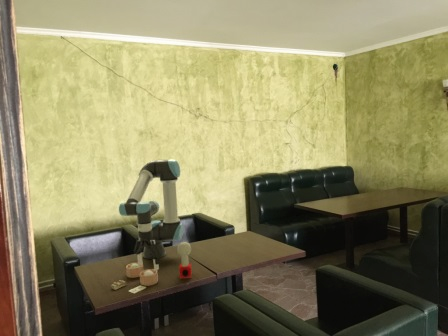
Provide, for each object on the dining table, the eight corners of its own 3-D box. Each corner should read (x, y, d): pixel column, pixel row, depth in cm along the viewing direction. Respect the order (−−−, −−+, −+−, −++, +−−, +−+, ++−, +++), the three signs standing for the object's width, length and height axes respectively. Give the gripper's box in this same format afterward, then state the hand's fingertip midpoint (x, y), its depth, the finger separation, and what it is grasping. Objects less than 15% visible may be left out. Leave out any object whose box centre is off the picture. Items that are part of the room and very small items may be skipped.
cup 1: (123, 275, 217) (123, 266, 217) (136, 270, 224) (135, 261, 224) (134, 279, 211) (133, 269, 211) (146, 273, 219) (146, 264, 218)
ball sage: (127, 274, 217) (127, 264, 217) (136, 270, 222) (135, 261, 221) (134, 276, 214) (133, 266, 213) (142, 272, 218) (141, 263, 218)
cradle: (111, 288, 200) (111, 283, 200) (122, 283, 205) (122, 279, 205) (115, 289, 198) (114, 284, 198) (126, 285, 203) (125, 280, 203)
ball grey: (141, 281, 205) (140, 271, 204) (149, 278, 210) (148, 268, 209) (148, 284, 201) (147, 273, 201) (156, 280, 206) (156, 270, 205)
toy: (193, 272, 216) (191, 239, 214) (192, 278, 208) (190, 243, 206) (179, 273, 215) (177, 240, 213) (178, 279, 207) (175, 244, 205)
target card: (128, 291, 195) (128, 290, 195) (140, 285, 201) (140, 285, 201) (134, 293, 192) (134, 292, 192) (146, 287, 198) (146, 287, 198)
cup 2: (137, 283, 205) (136, 273, 204) (150, 277, 212) (149, 268, 212) (148, 287, 199) (147, 277, 199) (161, 280, 206) (160, 271, 206)
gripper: (125, 229, 207) (128, 265, 210) (155, 235, 192) (158, 274, 194) (136, 225, 213) (139, 261, 216) (165, 231, 198) (168, 269, 200)
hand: (148, 267), depth 205 cm, fingers open, 13 cm apart
